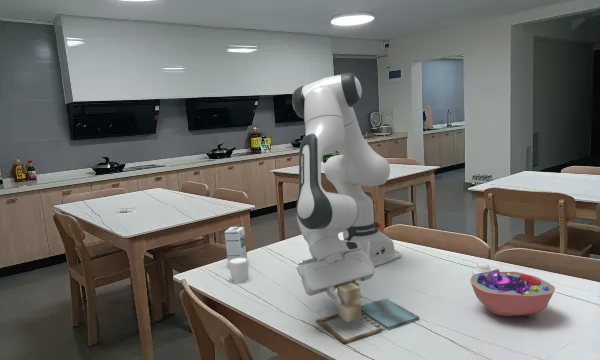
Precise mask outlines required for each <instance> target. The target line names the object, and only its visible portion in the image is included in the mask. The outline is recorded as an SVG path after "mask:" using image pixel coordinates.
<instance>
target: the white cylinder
mask: <svg viewBox="0 0 600 360" xmlns="http://www.w3.org/2000/svg"><path fill="white" fill-rule="evenodd" d="M228 263H229V266H228V269H229V272H230V277H231V282H232V283H235V284H241V283H246V282H247V281H249V258H248V257H247V258H244V257H239V258H233V259H231V260H229V261H228V260H227V264H228Z"/></svg>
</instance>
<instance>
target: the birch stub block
mask: <svg viewBox="0 0 600 360" xmlns="http://www.w3.org/2000/svg"><path fill="white" fill-rule="evenodd" d="M336 291H337V292H336V294H337V295H338V296H342V299H343V300H344V303H343V304H341V305H337V307H338V313H339V316H340V317H339V318H342V319H343V321H346V322H350V321H354V320H356V319H360V318H362V314H361V306H362V303H361V301H362V298H361V297H360V287H358V286H357V285H355V284H353V283H348V284H344V285H341V286H337V288H336Z"/></svg>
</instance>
